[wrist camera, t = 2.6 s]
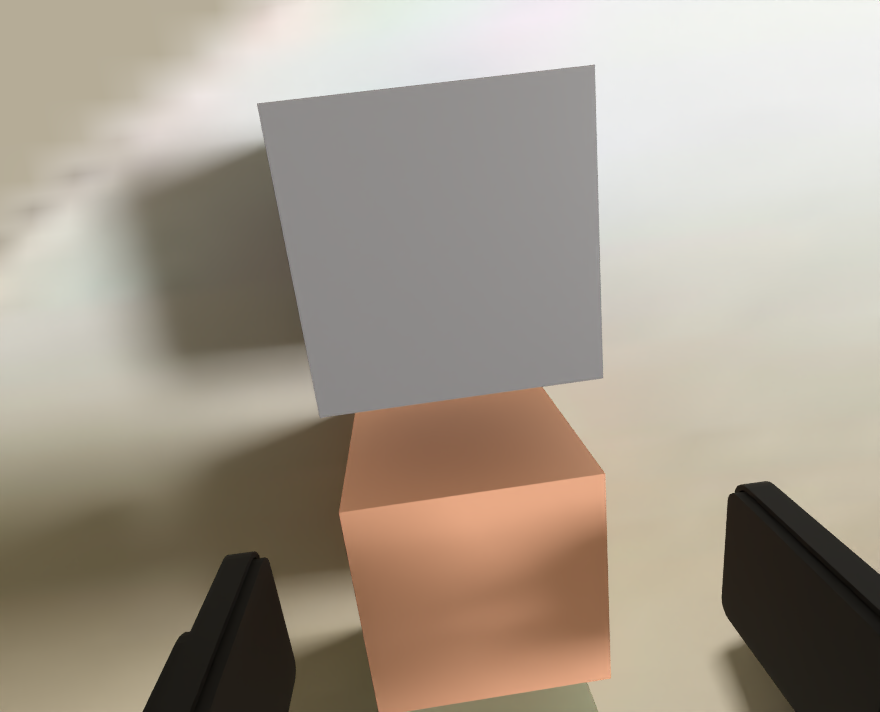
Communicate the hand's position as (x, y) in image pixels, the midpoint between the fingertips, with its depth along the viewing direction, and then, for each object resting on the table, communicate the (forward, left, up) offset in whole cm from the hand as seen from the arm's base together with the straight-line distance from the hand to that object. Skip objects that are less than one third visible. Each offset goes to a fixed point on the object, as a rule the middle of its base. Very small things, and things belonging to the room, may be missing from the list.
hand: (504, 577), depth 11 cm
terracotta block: (-1, 0, -5) cm, 5 cm away
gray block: (+4, +5, -5) cm, 8 cm away
